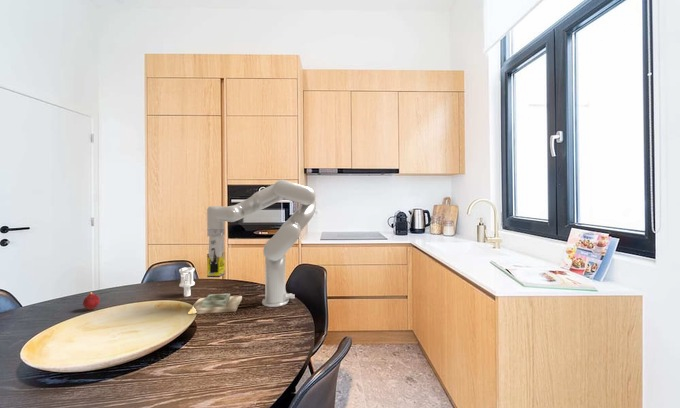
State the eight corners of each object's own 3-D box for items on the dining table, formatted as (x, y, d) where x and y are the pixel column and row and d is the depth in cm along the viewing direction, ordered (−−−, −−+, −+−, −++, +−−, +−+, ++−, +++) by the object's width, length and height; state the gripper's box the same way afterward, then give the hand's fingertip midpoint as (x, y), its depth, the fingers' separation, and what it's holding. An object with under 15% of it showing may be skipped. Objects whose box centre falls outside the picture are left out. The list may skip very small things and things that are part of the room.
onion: (103, 307, 131) (103, 290, 131) (91, 312, 126) (91, 294, 125) (92, 307, 132) (91, 290, 132) (79, 312, 126) (79, 294, 126)
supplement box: (219, 277, 130) (219, 253, 130) (206, 277, 130) (206, 253, 130) (225, 274, 136) (225, 251, 136) (212, 274, 136) (212, 251, 136)
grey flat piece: (241, 298, 143) (241, 290, 143) (235, 311, 127) (235, 302, 127) (199, 301, 139) (199, 293, 139) (187, 314, 124) (187, 305, 123)
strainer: (176, 297, 145) (175, 268, 145) (187, 292, 152) (187, 265, 152) (187, 298, 143) (186, 269, 143) (197, 294, 150) (197, 265, 150)
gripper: (219, 234, 125) (220, 275, 125) (228, 230, 142) (228, 265, 142) (201, 234, 123) (201, 275, 124) (212, 230, 140) (212, 266, 141)
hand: (216, 270), depth 133 cm, fingers closed on supplement box, 6 cm apart
